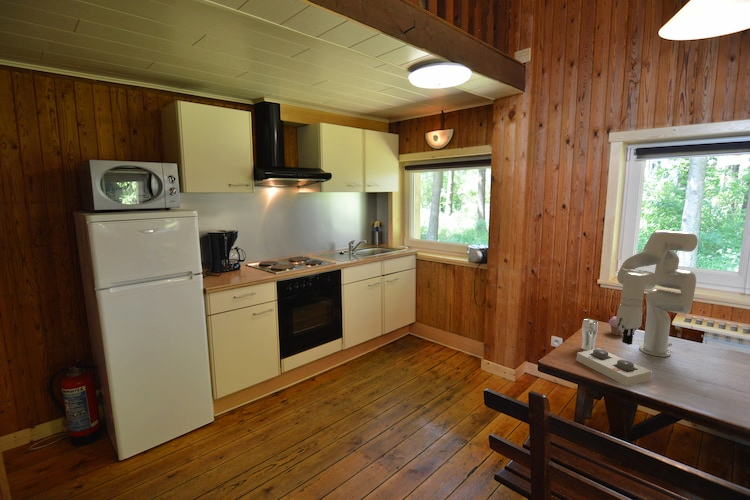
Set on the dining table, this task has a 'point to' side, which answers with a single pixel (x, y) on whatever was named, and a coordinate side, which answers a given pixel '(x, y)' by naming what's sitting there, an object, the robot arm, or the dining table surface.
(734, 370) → the dining table surface
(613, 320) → the cupcake
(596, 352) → the button plain
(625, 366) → the button marked
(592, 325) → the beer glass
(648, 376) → the button board
